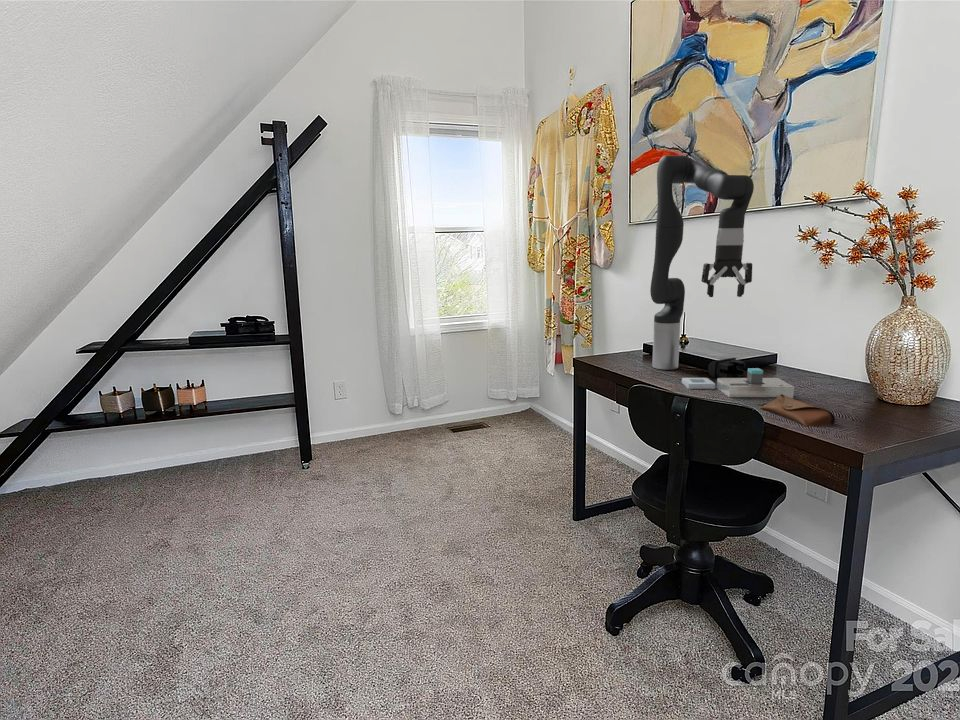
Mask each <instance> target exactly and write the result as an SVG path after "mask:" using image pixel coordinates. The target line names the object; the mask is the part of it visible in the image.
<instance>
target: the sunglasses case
mask: <svg viewBox="0 0 960 720" xmlns="http://www.w3.org/2000/svg"><path fill="white" fill-rule="evenodd" d="M759 408H760V410H762V409H763V411H765V410H766V412H768V411H769V412H768V413H771V414H774V415H777V416H780V417H781V418H784V419H787V420H789V419H790V421H792V422H794V421H795V423H797V424H799V425H801V426H803V427H806V428H810V427H817V426H818V427H819V426H827V425H828V426H829V425H834V424H835V421H836V417H835V414H834V413H832V412H831V411H830V410H828V409H826V408H823V407H819V406H816V405H812V404H810V403H807V402H803V401H800V400H797V399H794V398H793V399H792V398H789V397H786V396H785V395H783V394H781V395H780V397H775V398H774V399H773V400H771V401H769V402H768V403H766V404H765V405H762V406H761V407H759Z"/></svg>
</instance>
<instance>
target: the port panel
mask: <svg viewBox="0 0 960 720" xmlns="http://www.w3.org/2000/svg"><path fill="white" fill-rule="evenodd" d="M716 378H717V379H716V388H717V389H718V390H719V391H721V392H722V393H723V394H724V395H726V396H728V397H729V398H778V397H780V395H781V394H783V395H785V396H786V397H789V398H792V399H794V393H795V386H794V385H791V384H789V383H788V382H786V381H784V380H782V379H781V378H779V377H763V379H762V384H748V383H747V377H732V378H720V377H716Z"/></svg>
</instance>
